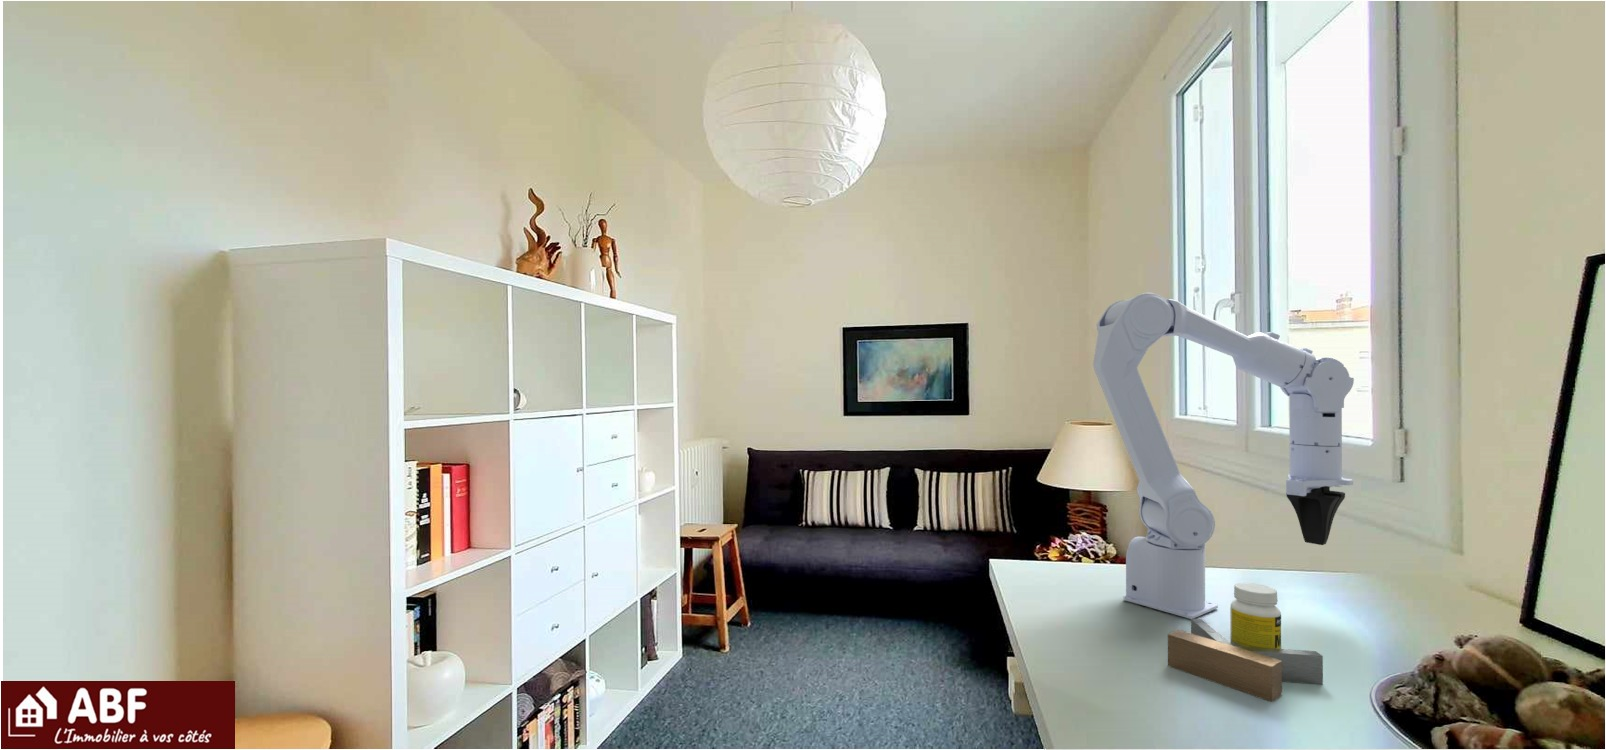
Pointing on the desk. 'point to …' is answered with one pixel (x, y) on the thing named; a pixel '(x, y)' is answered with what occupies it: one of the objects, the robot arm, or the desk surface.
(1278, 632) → the supplement bottle
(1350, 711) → the desk surface
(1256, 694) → the v block
